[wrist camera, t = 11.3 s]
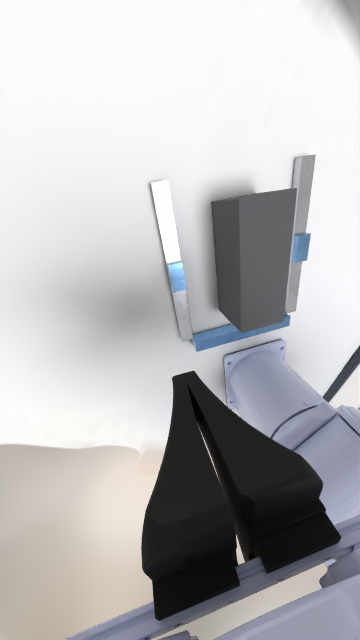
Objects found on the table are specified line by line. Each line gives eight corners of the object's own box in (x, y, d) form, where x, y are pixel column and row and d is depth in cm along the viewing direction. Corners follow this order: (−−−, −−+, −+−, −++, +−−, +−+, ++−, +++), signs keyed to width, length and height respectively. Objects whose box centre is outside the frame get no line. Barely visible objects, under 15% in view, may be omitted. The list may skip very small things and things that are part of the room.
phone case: (344, 407, 39) (405, 335, 32) (352, 415, 37) (418, 341, 31) (309, 407, 36) (367, 329, 29) (316, 416, 34) (379, 335, 28)
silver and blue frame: (375, 293, 26) (389, 297, 24) (182, 346, 23) (185, 354, 21) (427, 135, 18) (450, 130, 17) (150, 184, 15) (152, 181, 14)
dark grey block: (253, 300, 22) (283, 321, 18) (218, 309, 22) (241, 333, 18) (255, 193, 17) (297, 187, 13) (210, 202, 17) (239, 198, 13)
